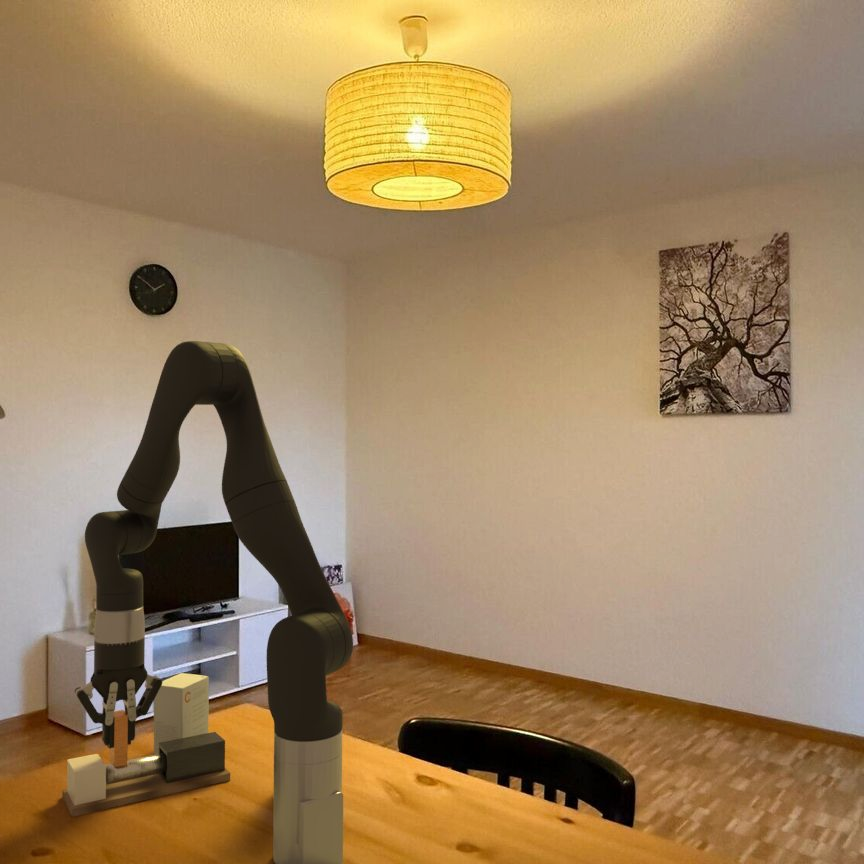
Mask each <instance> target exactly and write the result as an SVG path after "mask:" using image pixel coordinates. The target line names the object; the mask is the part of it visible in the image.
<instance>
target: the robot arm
mask: <svg viewBox="0 0 864 864" xmlns="http://www.w3.org/2000/svg"><path fill="white" fill-rule="evenodd" d="M165 360H166V361H165V363H164V365H163V367H162V369H161V373H160V378H159V379H158V383H157V386H156V390H155V392H154V393H155V394H154V396H153V399H152V403H151V406H150V409H149V413H148V417H147V420H146V424H145V427H144V431H143V434H142V437H141V440H140V442H139V444H138V447H137V449H136V452H135V454H134V455H133V458H132V460H131V461H130V463H129V466H128V467H127V469H126V471H125V473H124V476H123V477H122V479H121V481H120V483H119V485H118V488H117V491H116V499H117V500H118V501H117V502H119V504H120V505H121V506H122V508H124V509H125V510H112V511H109V510H108V511H102V512H97V513H96V514H94V515H93V516H92V517H90V519H89V520H88V522H87V525H86V527H85V530H84V542H85V547H86V551H87V553H88V557H89V560H90V564H91V567H92V572H93V575H94V579H95V584H96V590H95V591H96V596H95V597H96V603H95V605H96V610H95V617H94V629H93V640H94V643H93V646H94V647H93V648H94V649H93V655H94V657H93V659H94V660H93V674H92V675H91V677H90V681H89V682H88V683H86V684H85V685H83V686H82V687H80V686H79V687H76V688H75V689H74V695H75V696H76V697H77V699H78V701H79V702H80V704H81V706H82V707H83V709H84V710H85V712H86V713H87V715H88V717H89V718H90V720H91V721H92V722H93V723H94V724H101V726H102V729H101V731H102V735H101V737H102V738H101V740H102V743H103V744H104V746H106V747H107V749H110V748H114V724H113V717H114V711H116V705H117V702H119V701H122V703H123V707H124V709H123V710H124V711H125V712H126V713H127V715H128V746H130V745H132V741H134V740H135V739H136V720H137V719H138V718H139V717H141V716H146V715H147V714H148V712H149V711H150V709H151V706H153V704H154V699H155V697H156V695H157V693H158V691H159V689H160V687H161V685H162V681H163V680H162V679H161V678H160V677H158V676H157V675H151V674H148V671H147V669H146V667H145V657H146V656H145V655H146V654H145V650H146V649H145V648H146V647H145V644H146V643H145V641H146V640H145V639H146V638H145V633H146V631H145V630H146V627H145V626H146V625H145V623H146V622H145V621H146V619H145V612H144V577H143V574H142V572H140V570H137V569H134V568H126V567H125V568H123V566H122V564H121V561H120V559H119V558H120V557H119V556H122V555H128V554H129V555H130V554H131V555H132V554H136V553H140V552H144V551H145V550H147V548H149V547H150V546H151V545H152V543H153V542H154V541H155V538H156V537H157V532H158V531H157V530H158V526H159V522H160V521H159V520H160V515H161V511H162V505H163V503H164V501H165V499H166V498H167V495H168V493H169V492H170V490H171V488H172V486H173V484H174V483H175V480H176V478H177V475H178V473H179V470H180V464H181V449H180V437H179V436H180V430H181V427H182V425H183V422H184V421H185V419H186V418H187V416H188V415H189V413H190V411H192V409H193V408H194V407H195V405H196V406H197V405H198V406H213V407H214V408H215V410H216V412H217V414H218V416H219V419H220V422H221V424H222V425H221V426H222V427H223V431H224V435H225V440H226V452H225V459H224V463H223V471H222V475H221V476H222V478H221V495H222V498H223V502H224V504H225V508H226V510H227V514H228V515H229V518H230V521H231V523H232V526H233V529H234V532H235V533H236V535H237V537H238V539H239V541H240V542H241V543H242V544H243V546H244V547H245V548H246V549H247V551H248V552H249V553H250V555H252V557H254V558H255V560H256V561H258V562H259V563H260V564H261V566H262V567H263V568H264V569H265V571H267V572H268V574H270V576H271V577H272V578H273V579H274V580H275V581H276V583H277V585H278V586H279V588H280V591H281V593H282V594H283V596H284V599H285V601H286V604H287V606H288V609H289V611H290V616H287V617H284V618H282V619H280V620H279V621H277V622H276V624H274V626H273V627H272V629H271V631H270V632H269V637H268V639H267V646H266V681H267V701H268V707H269V708H268V709H269V713H270V715H271V717H272V719H273V726H274V727H273V729H274V730H273V806H272V807H273V812H272V813H273V815H272V816H273V817H272V820H273V825H272V830H273V833H272V834H273V839H272V840H273V843H272V844H273V846H272V847H273V851H272V853H273V858H272V859H273V863H274V864H343V863H344V794H343V720H344V719H343V710H342V708H341V707H340V705H339V704H338V703H335V702H333V701H331V700H328V696H327V676H329V675H331V674H333V673H335V672H337V671H339V670H341V669H342V668H344V667H345V666H346V665H347V664H348V662H349V661H350V659H351V657H352V654H353V649H354V638H353V632H352V629H351V626H350V625H351V624H350V622H349V619H348V618H347V616H346V614H345V612H344V610H343V608H342V606H341V604H340V602H339V601H338V598H337V597H336V595H335V593H334V591H333V589H332V587H331V585H330V583H329V582H328V579H327V577H326V575H325V573H324V571H323V569H322V567H321V565H320V562H319V560H318V558H317V555H316V553H315V550H314V547H313V544H312V543H311V540H310V537H309V535H308V533H307V530H306V528H305V526H304V524H303V521H302V518H301V515H300V512H299V510H298V506H297V504H296V502H295V498H294V496H293V494H292V491H291V488H290V485H289V484H288V480H287V478H286V476H285V474H284V472H283V470H282V467H281V464H280V462H279V459H278V457H277V454H276V452H275V447H274V445H273V442H272V440H271V438H270V435H269V432H268V429H267V426H266V423H265V420H264V416H263V413H262V410H261V406H260V403H259V399H258V395H257V391H256V388H255V384H254V381H253V377H252V373H251V372H250V367H249V365H248V363H247V361H246V359H245V357H244V355H243V354H242V353H241V351H240V350H239V349H238V348H237V347H235V346H233V345H231V344H227V343H224V342H223V343H222V342H211V341H199V340H189V341H183V342H181V343H179V344H177V345H176V346H174V348H173V349H172V350H171V351H170V353H169V354H168V356H167V358H166V359H165ZM143 684H144V687H145V690H144V691H143V694H142V696H141V698H140V699H139V701H138V703H137V701H136V700H137V699H136V695H137V694H138V692H139V690H140V689H141V687H142V686H143ZM94 689H95V691H96V692H97V693H98V694H99V695H100V696H101V698H102V703H101V705H102V709H101V710H102V712H98V711H97V709H96V708H95V706H94V704H93V702H92V701H91V700H92V698H93V696H94V694H93V690H94Z"/></svg>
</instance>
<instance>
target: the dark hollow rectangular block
mask: <svg viewBox="0 0 864 864" xmlns="http://www.w3.org/2000/svg"><path fill="white" fill-rule="evenodd" d="M160 753H165V754H166V772H164V773H159V774H160V776H161V777H162V778H163V779H164V781H165V782H166V783H171V782H176V781H180V780H185V779H189V778H194V777H198V776H203V775H207V774H212V773H216V772H221V771H225V768H226V740H225V739H224V738H222V736H221V735H219V734H218V733H217V732H216V731H212V732H209V733H206V734H201V735H196V736H191V737H186V738H181V739H175V740H170V741H165V742H160V743H159V753H158V754H160Z"/></svg>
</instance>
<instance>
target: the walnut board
mask: <svg viewBox="0 0 864 864" xmlns="http://www.w3.org/2000/svg"><path fill="white" fill-rule="evenodd" d="M228 781H231V772H229V770H228V769H227V768H226V767H225V771H221V772H216V773H212V774H207V775H203V776H198V777H194V778H189V779H185V780H180V781H176V782H171V783H166V782H165V781H164V779H163V778H162V777H161V776H160V774H154V775H150V776H145V777H141V778H136V779H131V780H127V781H122V782H118V783H113V784H108V785H106V799H102V800H97V801H93V802H88V803H84V804H79V805H75V806H74V804H73V802H72V800H71V798H70V796H69V794H68V792H67V788H66V789H62V790H61V791H62V792H61V795H62V796H61V797H62V800H63V802H64V803H65V805H66V808H67V810H68V812H69V814H70V815H71V817H72V818H73V816H74V817H78V816H82V814H83V815H86V814H91V813H96V812H100V811H103V809H104V810H109V809H112V808H111V807H113V808H115V806H117V807H120V806H119V805H121V806H125V804H126V805H129V803H130V804H134V803H138V801H139V802H142V800H143V801H146V800H151V799H155V797H156V798H160V797H164V795H165V796H169V795H172V794H177V792H178V793H181V792H186V791H190V790H196V789H199V788H204V787H207V786H211V785H215V784H220V783H225V782H228ZM168 794H169V795H168ZM108 808H109V809H108ZM99 810H100V811H99ZM95 811H96V812H95Z"/></svg>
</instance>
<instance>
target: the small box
mask: <svg viewBox="0 0 864 864" xmlns="http://www.w3.org/2000/svg"><path fill="white" fill-rule="evenodd" d="M209 680H210V677H209V676H207V675H201V674H194V673H193V674H192V673H184V672H180V673H179V674H176V675H174V676H171V677H168V678H167V679H165V680H162V685H161V687H160V689H159V691H158V693H157V695H156V697H155V699H154V701H153V755H156V754H158V753H159V743H160V742H165V741H170V740H175V739H181V738H186V737H191V736H196V735H201V734H206V733H210V732H209V730H210V729H209V714H210V712H209V710H210V708H209V707H210V705H209V699H210V698H209V697H210V695H209V694H210V693H209V688H210V687H209V683H210V682H209Z"/></svg>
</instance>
